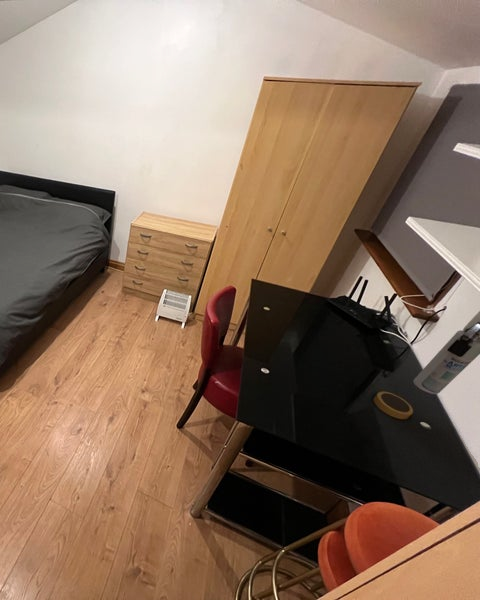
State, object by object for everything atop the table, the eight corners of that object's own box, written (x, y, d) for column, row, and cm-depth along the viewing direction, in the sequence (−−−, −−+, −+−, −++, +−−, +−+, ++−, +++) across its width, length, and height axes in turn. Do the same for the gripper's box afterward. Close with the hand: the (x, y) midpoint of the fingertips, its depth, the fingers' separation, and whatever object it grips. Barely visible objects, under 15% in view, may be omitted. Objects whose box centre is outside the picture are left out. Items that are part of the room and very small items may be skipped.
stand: (414, 414, 112) (419, 409, 111) (398, 422, 109) (403, 417, 107) (383, 393, 120) (388, 388, 119) (367, 400, 117) (371, 395, 115)
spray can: (432, 382, 102) (479, 333, 92) (444, 397, 97) (496, 347, 86) (408, 376, 104) (452, 327, 93) (419, 390, 99) (467, 341, 88)
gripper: (516, 312, 77) (462, 366, 86) (545, 301, 83) (491, 353, 93) (475, 296, 82) (428, 348, 92) (505, 287, 89) (458, 337, 98)
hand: (460, 350), depth 92 cm, fingers closed on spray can, 6 cm apart
